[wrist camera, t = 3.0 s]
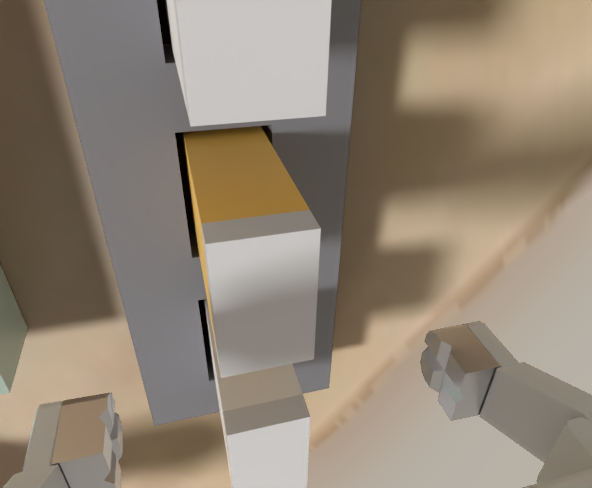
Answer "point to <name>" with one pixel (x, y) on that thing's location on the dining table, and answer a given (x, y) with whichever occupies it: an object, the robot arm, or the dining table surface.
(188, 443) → the dining table surface
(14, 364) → the tray
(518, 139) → the dining table surface
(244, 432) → the block
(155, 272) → the fuse block
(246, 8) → the block
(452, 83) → the dining table surface
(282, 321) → the block
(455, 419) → the robot arm
